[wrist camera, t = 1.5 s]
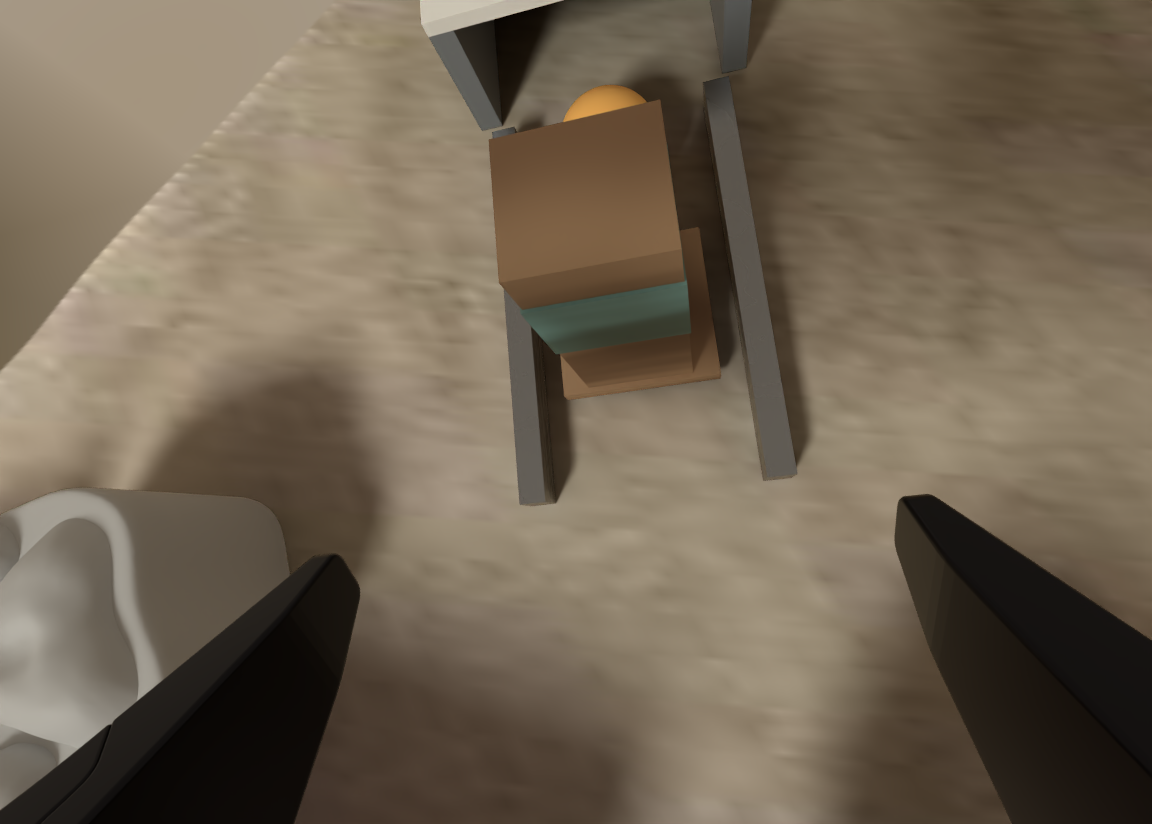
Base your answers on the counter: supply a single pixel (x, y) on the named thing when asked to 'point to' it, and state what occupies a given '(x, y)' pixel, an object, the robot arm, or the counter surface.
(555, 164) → the teal-banded wooden block
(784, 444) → the rails
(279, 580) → the lumpy-topped squat cylinder
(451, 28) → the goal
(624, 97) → the ball
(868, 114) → the counter surface
